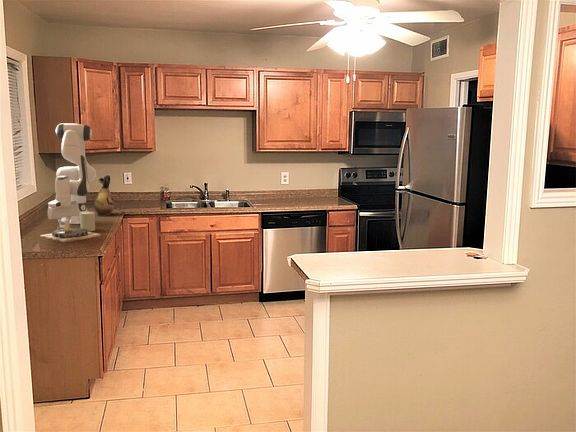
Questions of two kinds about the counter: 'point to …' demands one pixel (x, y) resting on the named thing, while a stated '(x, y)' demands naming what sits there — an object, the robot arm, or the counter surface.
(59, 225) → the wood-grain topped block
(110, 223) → the counter surface
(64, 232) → the sprocket
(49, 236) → the plate
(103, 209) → the ceramic jug
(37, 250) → the counter surface
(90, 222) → the can
